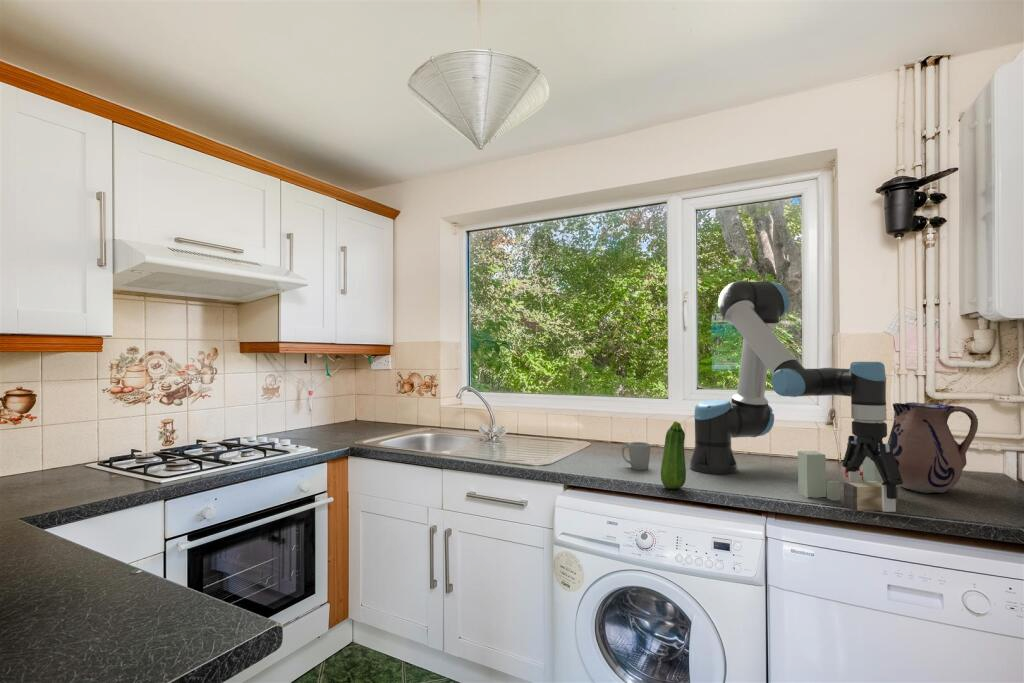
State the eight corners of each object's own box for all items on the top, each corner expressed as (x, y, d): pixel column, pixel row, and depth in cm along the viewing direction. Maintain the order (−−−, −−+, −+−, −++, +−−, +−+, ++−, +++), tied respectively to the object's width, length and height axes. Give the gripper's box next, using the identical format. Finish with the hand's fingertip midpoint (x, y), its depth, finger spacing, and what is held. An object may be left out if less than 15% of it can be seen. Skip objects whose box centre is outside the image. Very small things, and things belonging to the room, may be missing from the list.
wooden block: (853, 510, 130) (852, 486, 130) (843, 505, 134) (843, 482, 134) (897, 510, 130) (897, 487, 130) (887, 506, 134) (886, 483, 134)
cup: (647, 472, 172) (647, 446, 172) (619, 468, 177) (618, 444, 177) (653, 467, 178) (653, 443, 179) (625, 464, 184) (625, 440, 184)
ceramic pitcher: (878, 479, 160) (876, 400, 161) (962, 486, 152) (961, 402, 153) (895, 494, 144) (893, 405, 145) (991, 502, 136) (989, 408, 137)
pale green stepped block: (811, 500, 139) (810, 456, 139) (794, 490, 148) (794, 449, 148) (839, 500, 139) (839, 456, 139) (821, 491, 148) (820, 449, 148)
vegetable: (655, 486, 154) (655, 420, 154) (676, 484, 156) (675, 419, 156) (669, 492, 147) (668, 423, 147) (691, 490, 149) (690, 422, 149)
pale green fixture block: (876, 491, 147) (876, 450, 147) (898, 501, 138) (898, 456, 138) (850, 491, 147) (849, 449, 147) (870, 500, 138) (869, 456, 138)
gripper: (919, 427, 120) (922, 518, 119) (854, 415, 144) (856, 490, 144) (886, 427, 120) (889, 518, 119) (827, 415, 145) (828, 490, 144)
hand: (871, 503), depth 132 cm, fingers open, 13 cm apart
